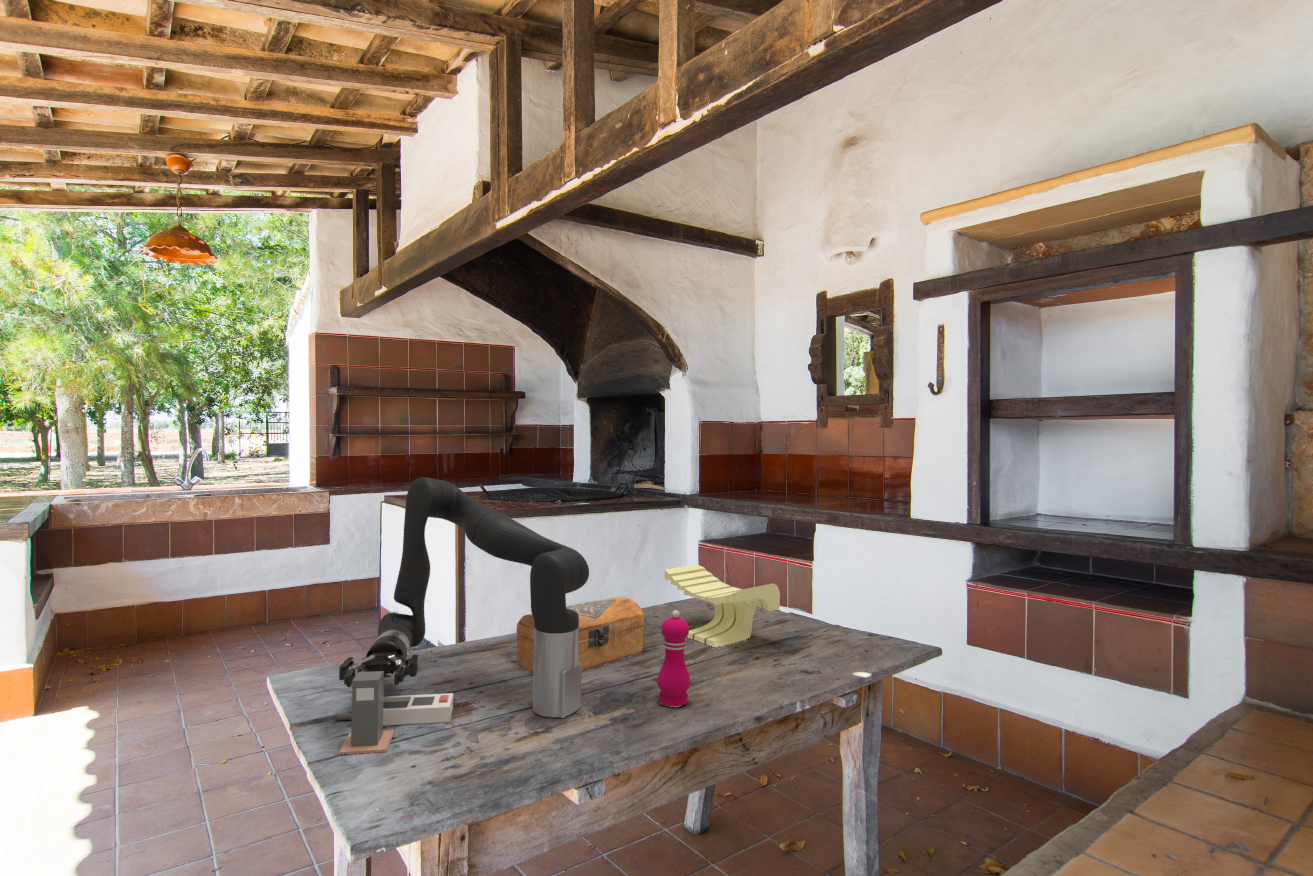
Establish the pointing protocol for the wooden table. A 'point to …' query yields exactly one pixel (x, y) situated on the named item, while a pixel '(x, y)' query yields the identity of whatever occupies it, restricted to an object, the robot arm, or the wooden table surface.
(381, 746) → the tile coaster
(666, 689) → the pepper mill
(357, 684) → the block
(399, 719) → the power strip
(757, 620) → the wooden table surface
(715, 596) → the slatted curved stool
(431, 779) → the wooden table surface
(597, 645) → the wooden box
